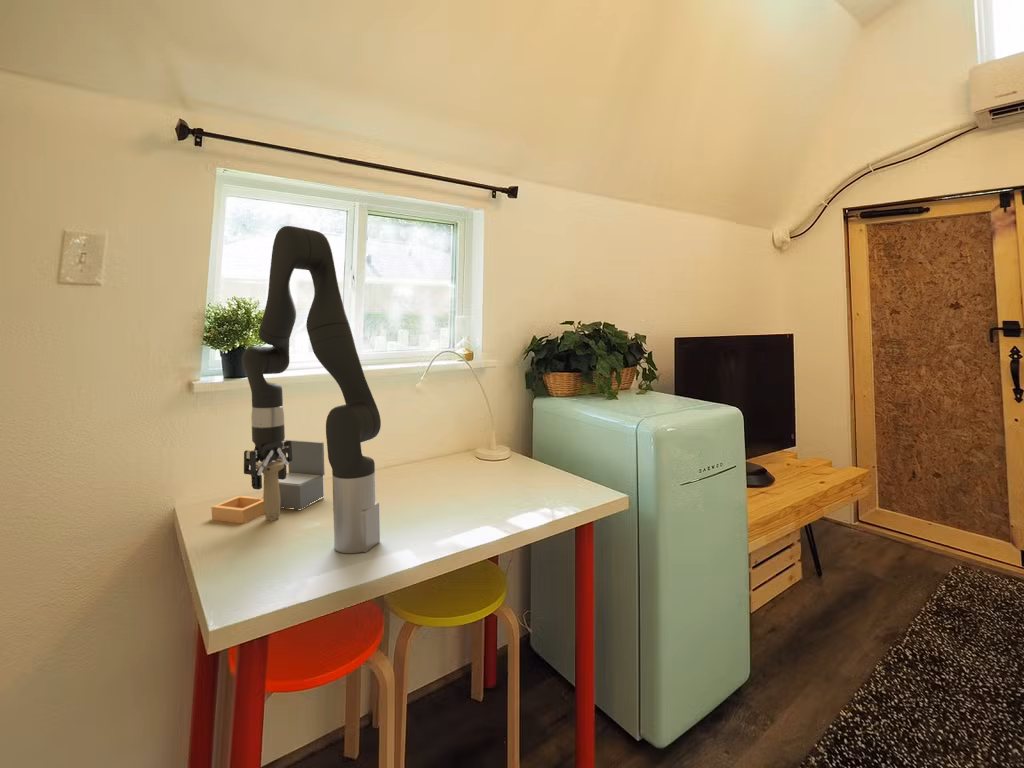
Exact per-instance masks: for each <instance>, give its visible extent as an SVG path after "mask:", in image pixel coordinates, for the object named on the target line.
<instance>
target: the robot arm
mask: <svg viewBox="0 0 1024 768" xmlns="http://www.w3.org/2000/svg"><path fill="white" fill-rule="evenodd" d="M269 268H270V269H269V279H268V289H267V298H266V299H267V300H266V305H265V308H264V312H263V315H262V319H261V322H260V324H259V328H258V337H259V340H260V341H262V342H263V343H265V344H267V345H270V346H251V347H248V348H246V350H245V351H244V352H243V353H242V358H241V360H242V361H241V362H242V367H243V370H244V372H245V375H246V377H247V381H248V383H249V388H250V390H251V413H250V414H251V418H250V419H251V441H252V442H253V444H254V449H253V450H247V449H246V450H244V451H243V474H244V475H248V476H251V487H252V489H253V490H257V491H258V490H261V489H263V473H262V471H263V469H264V467H266V466H267V464H268V463H270V462H272V461H281V462H284V468H283V469H281V470H280V471H278V479H281V480H284V479H286V475H287V473H288V471H287V465H288V462H289V461H292V459H293V458H292V444H291V441H290V440H291V439H289V440H288V439H285V437H286V436H285V433H286V431H285V411H284V407H283V406H284V405H283V404H284V403H283V399H284V398H283V387H282V386H281V384H279V383H276V382H275V383H274V382H268V381H267V380H266V378H265V376H264V375H274V374H275V375H276V374H282V373H284V372H285V371H286V370H287V369H288V368H289V365H290V339H291V335H292V332H293V330H294V325H295V323H296V318H297V309H296V304H295V302H294V299H293V295H292V292H291V291H292V290H291V288H290V287H291V285H290V281H291V278H292V275H293V272H294V270H304V271H309V274H310V275H311V280H312V284H313V289H314V293H313V295H314V296H313V298H312V303H311V305H310V308H309V310H308V314H307V318H306V331H307V335H308V338H309V339H308V340H309V341H310V345H311V348H312V351H313V353H314V355H315V358H316V359H317V360H318V362H319V363H320V364H321V365H322V367H323V368H324V369H325V371H327V372H328V373H329V374H330V376H331V377H332V378H333V380H335V382H336V383H337V385H338V387H339V388H340V390H341V393H342V396H343V400H344V402H345V404H342V405H337V406H334V407H333V408H332V409H331V410H329V412H328V414H327V416H326V421H325V435H326V436H325V437H326V450H327V458H328V462H329V465H330V467H331V473H332V504H333V505H332V507H333V535H334V536H333V537H334V538H333V539H334V540H333V542H334V543H333V544H334V549H335V551H336V552H339V553H342V554H357V553H367V552H369V551H370V550H371V549H372V548H373V547H375V546H376V545H377V544H378V543H379V542H380V541H381V535H380V534H381V533H380V532H381V529H380V528H381V527H380V526H381V523H380V503H379V502H377V501H376V468H375V467H376V466H375V465H376V463H375V460H374V459H373V458H372V457H370V456H365V455H363V453H362V444H361V443H364V442H367V441H371V440H373V439H375V438H376V437H377V436H378V435H379V433H380V431H381V426H382V424H381V422H382V420H381V415H380V412H379V409H378V405H377V404H376V401H375V399H374V397H373V394H372V392H371V389H370V387H369V384H368V381H367V379H366V376H365V373H364V370H363V367H362V364H361V360H360V358H359V354H358V351H357V349H356V348H357V347H356V344H355V340H354V336H353V333H352V328H351V326H350V323H349V319H348V317H347V314H346V309H345V307H344V301H343V299H342V296H341V292H340V288H339V282H338V278H337V271H336V267H335V261H334V256H333V252H332V247H331V244H330V242H329V240H328V238H327V237H326V236H325V234H323V233H322V232H320V231H317V230H314V229H308V228H304V227H303V228H302V227H298V226H293V225H284V226H282V227H280V228H279V230H277V232H276V234H275V237H274V239H273V244H272V251H271V260H270V267H269ZM257 467H259V468H258V470H257Z"/></svg>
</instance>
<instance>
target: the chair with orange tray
mask: <svg viewBox="0 0 1024 768" xmlns="http://www.w3.org/2000/svg"><path fill="white" fill-rule="evenodd" d="M289 440H290V441H291V444H292V458H293V459H292V461H289V462H288V464H287V465H288V472H287V475H286V479H284V480H281V479H278V480H279V490H280V507H284V508H294V509H302V508H304V507H306V506H307V505H309V504H310V503H312V502H314V501H316V500H318V499H319V498H321V497H323V496H324V476H325V449H324V448H325V447H324V446H325V443H324V442H323V441H322V442H320V441H310V440H309V441H306V440H294V439H289ZM263 502H264V501H263V497H257V496H249V495H248V496H247V495H237V496H235V497H232V498H229V499H227V500H225V501H223V502H222V501H221V502H220V503H218V504H215V505H212V506H211V507H210V508H211V519H212V521H219V520H220V521H222V522H227V521H228V522H230V523H235V522H236V524H246V523H247V522H249V520H250V521H251V519H252V520H254V519H256V518H258V517H260V516H262V515H264V514H265V510H264V503H263ZM284 508H283V509H284ZM306 508H307V507H306ZM304 509H305V508H304ZM302 510H303V509H302ZM263 513H264V514H263ZM261 514H262V515H261ZM259 515H260V516H259ZM257 516H258V517H257ZM253 518H254V519H253ZM228 522H227V523H228Z"/></svg>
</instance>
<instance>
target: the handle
mask: <svg viewBox="0 0 1024 768" xmlns="http://www.w3.org/2000/svg"><path fill="white" fill-rule="evenodd" d="M258 468H259V467H257V469H256V470H258ZM283 468H284V462H281V461H272V462H270V463H268V464H267V466H266V467H264V469H263V471H262V473H261V474H262V476H263V492H262V493H263V496H262V498H263V501H264V502H263V503H264V510H265V513H264V514H265V515H264V516H265V520H266V521H270V522H272V521H275V520H278V519H279V518H280V515H281V512H280V511H281V508H280V490H279V480H278V471H280V470H281V469H283Z"/></svg>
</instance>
